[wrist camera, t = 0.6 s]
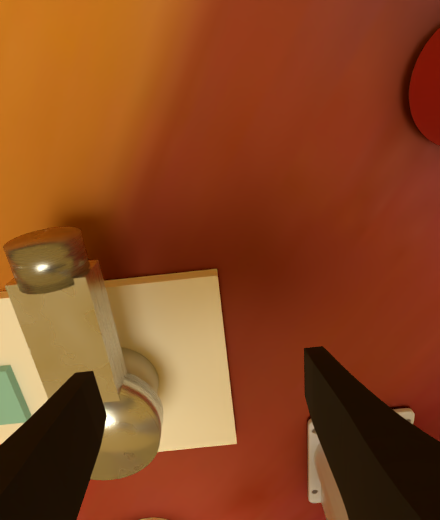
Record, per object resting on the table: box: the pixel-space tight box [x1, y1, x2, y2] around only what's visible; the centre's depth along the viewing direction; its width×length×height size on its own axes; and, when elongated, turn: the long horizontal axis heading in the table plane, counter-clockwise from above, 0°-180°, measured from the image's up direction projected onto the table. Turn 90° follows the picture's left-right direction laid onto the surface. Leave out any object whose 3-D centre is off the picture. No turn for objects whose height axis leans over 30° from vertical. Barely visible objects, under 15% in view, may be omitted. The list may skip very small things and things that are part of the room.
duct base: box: [0, 269, 237, 452], centre depth 23 cm, size 14×17×3 cm
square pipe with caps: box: [3, 226, 164, 480], centre depth 19 cm, size 15×7×3 cm, turn 6°
